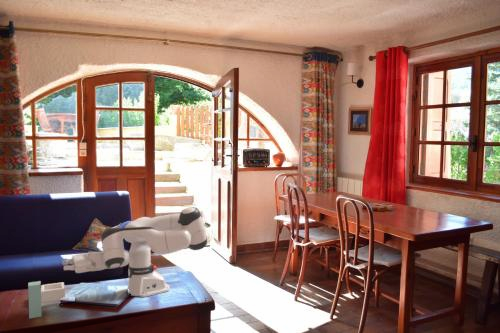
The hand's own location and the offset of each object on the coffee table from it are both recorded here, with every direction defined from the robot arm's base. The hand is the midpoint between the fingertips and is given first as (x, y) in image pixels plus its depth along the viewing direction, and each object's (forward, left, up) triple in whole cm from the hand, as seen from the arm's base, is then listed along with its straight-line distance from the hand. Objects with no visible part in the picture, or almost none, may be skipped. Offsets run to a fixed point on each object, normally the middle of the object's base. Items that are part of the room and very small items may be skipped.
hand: (63, 265), depth 197 cm
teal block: (+12, 0, -22) cm, 25 cm away
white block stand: (+4, -18, -22) cm, 29 cm away
